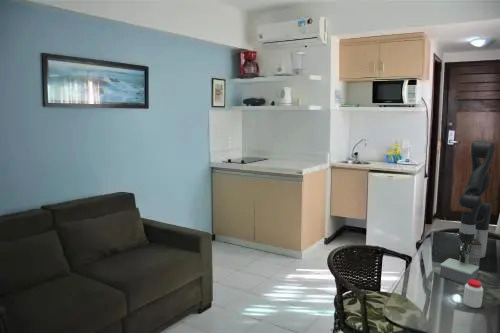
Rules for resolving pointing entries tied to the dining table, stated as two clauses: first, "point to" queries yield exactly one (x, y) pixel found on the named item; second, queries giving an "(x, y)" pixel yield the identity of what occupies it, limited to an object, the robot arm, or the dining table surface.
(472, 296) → the pill bottle
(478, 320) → the dining table surface
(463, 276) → the parts tub
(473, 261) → the coffee box
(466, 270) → the snap lid
